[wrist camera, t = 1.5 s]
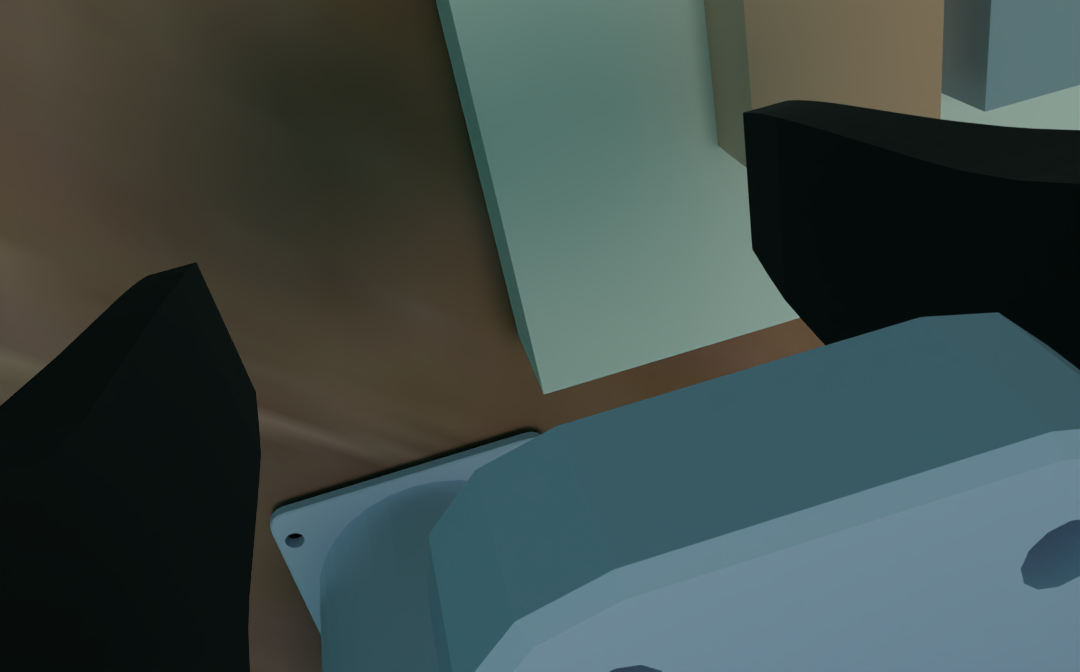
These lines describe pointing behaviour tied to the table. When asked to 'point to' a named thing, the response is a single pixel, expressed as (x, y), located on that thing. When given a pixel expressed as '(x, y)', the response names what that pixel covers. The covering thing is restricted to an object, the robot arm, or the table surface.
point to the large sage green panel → (622, 178)
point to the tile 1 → (822, 57)
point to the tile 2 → (1009, 50)
